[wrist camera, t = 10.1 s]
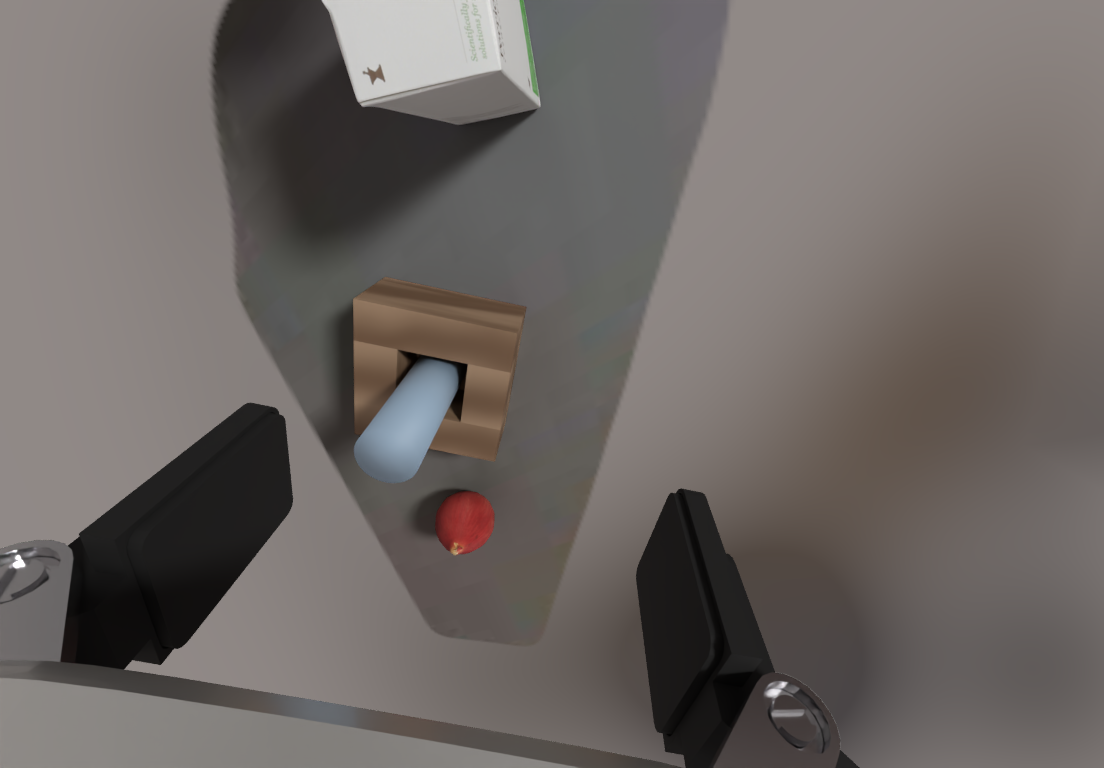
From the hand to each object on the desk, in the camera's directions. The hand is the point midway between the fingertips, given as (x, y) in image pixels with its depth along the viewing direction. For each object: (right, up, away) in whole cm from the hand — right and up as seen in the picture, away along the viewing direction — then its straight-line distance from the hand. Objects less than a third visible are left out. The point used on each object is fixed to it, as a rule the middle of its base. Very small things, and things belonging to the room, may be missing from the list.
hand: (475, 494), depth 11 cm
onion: (-7, -9, +38) cm, 39 cm away
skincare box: (-3, +25, +19) cm, 32 cm away
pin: (-7, +5, +29) cm, 30 cm away
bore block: (-7, +5, +30) cm, 31 cm away
